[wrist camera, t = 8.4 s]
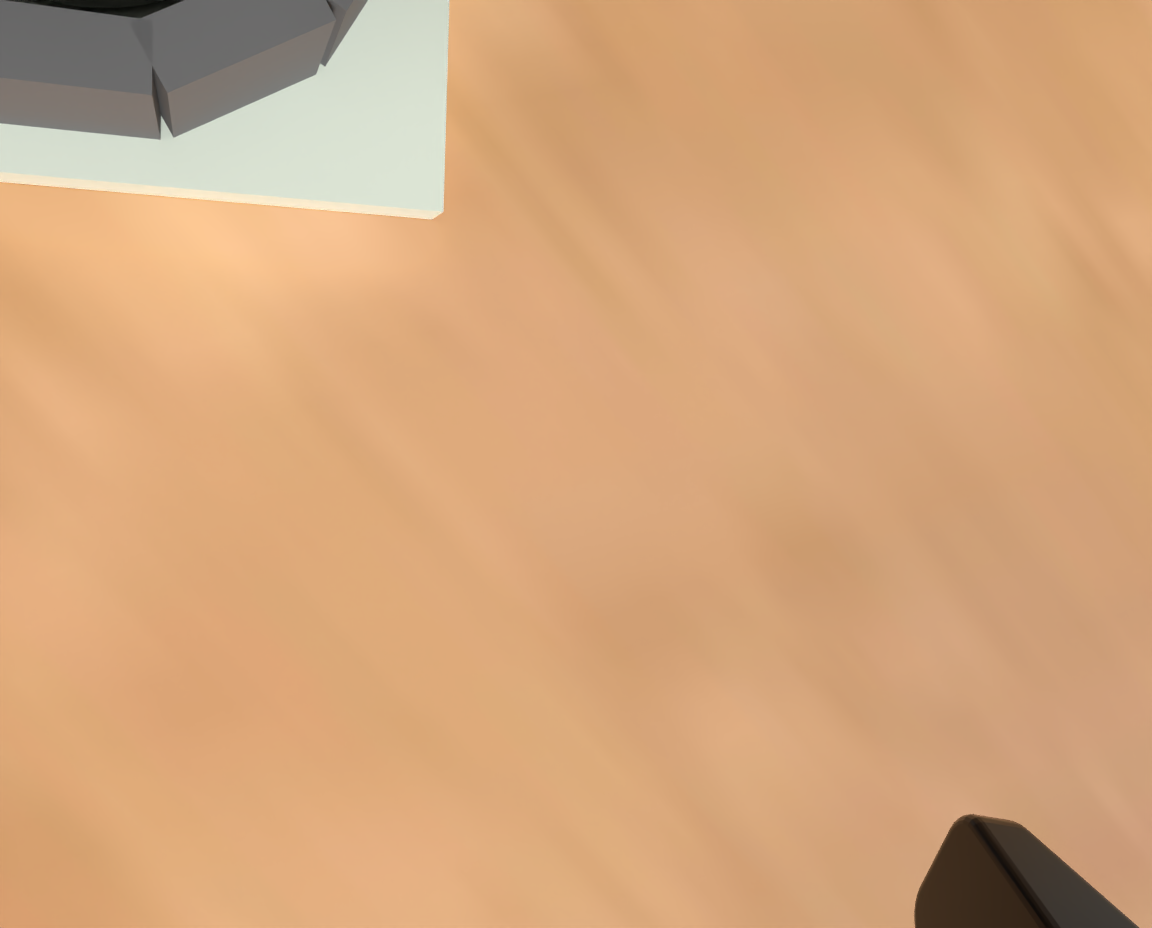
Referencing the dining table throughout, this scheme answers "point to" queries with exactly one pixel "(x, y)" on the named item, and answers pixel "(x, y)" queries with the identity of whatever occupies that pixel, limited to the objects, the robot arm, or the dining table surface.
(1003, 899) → the robot arm
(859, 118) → the dining table surface
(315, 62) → the collar
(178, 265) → the dining table surface
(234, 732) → the dining table surface
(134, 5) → the supplement bottle
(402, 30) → the board
